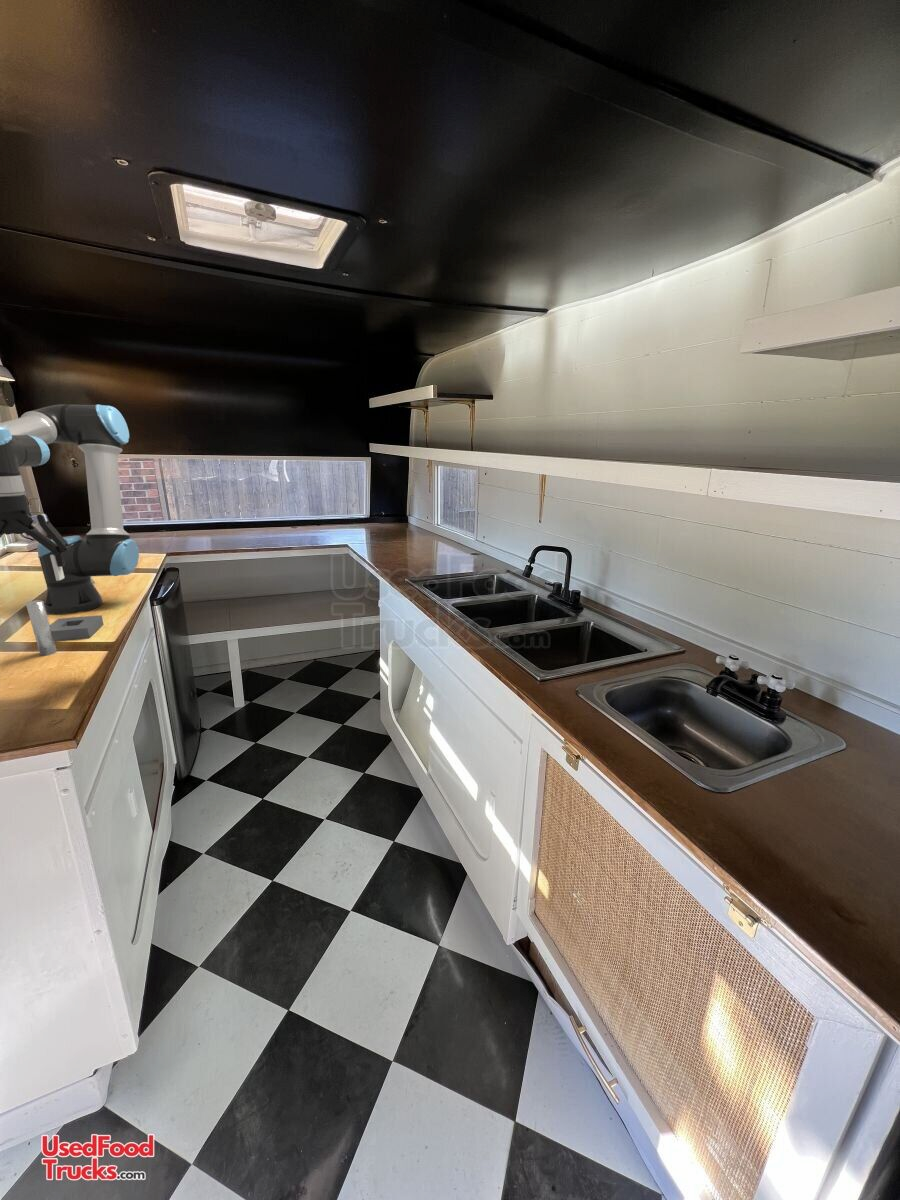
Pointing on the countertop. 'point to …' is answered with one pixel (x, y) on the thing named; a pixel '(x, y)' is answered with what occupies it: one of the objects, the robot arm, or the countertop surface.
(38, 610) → the steel peg
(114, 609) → the countertop surface
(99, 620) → the socket block
